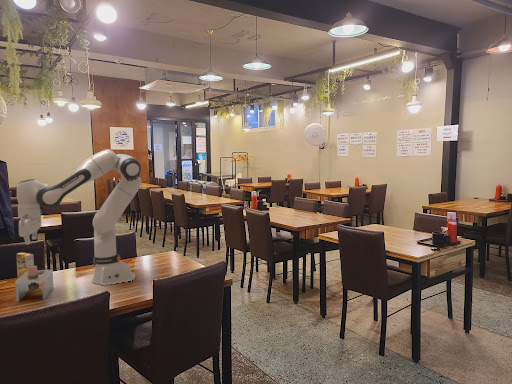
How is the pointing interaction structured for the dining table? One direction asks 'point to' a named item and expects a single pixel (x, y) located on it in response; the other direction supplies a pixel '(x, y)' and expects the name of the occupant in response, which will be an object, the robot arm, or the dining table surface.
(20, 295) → the grey bridge stand
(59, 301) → the dining table surface
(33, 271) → the pink-topped grey pedestal
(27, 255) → the candy box
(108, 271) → the robot arm
